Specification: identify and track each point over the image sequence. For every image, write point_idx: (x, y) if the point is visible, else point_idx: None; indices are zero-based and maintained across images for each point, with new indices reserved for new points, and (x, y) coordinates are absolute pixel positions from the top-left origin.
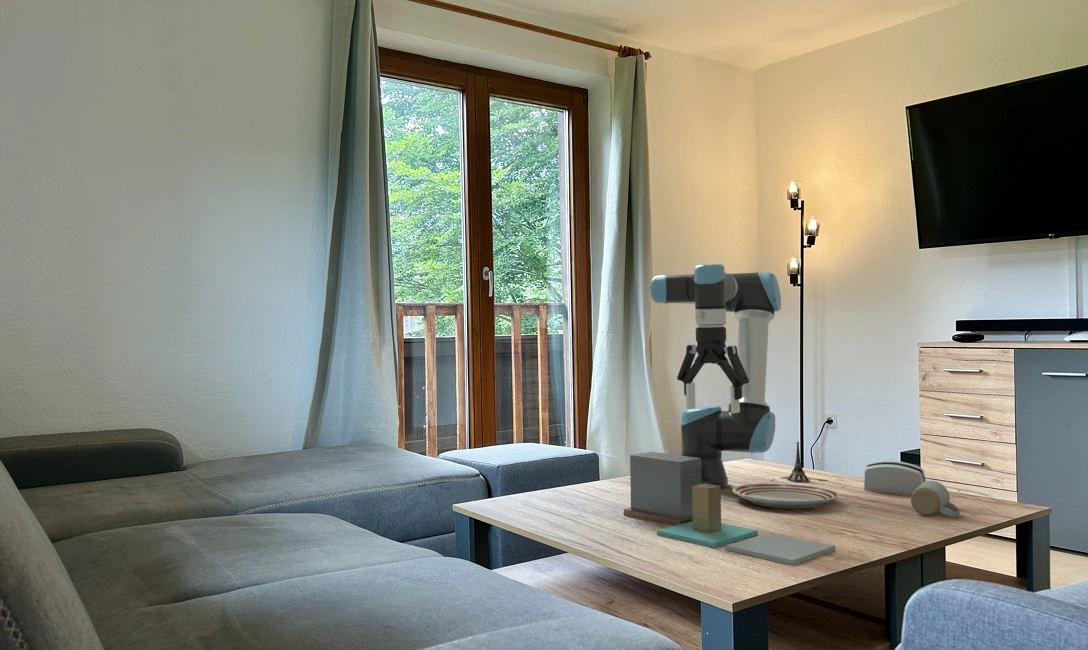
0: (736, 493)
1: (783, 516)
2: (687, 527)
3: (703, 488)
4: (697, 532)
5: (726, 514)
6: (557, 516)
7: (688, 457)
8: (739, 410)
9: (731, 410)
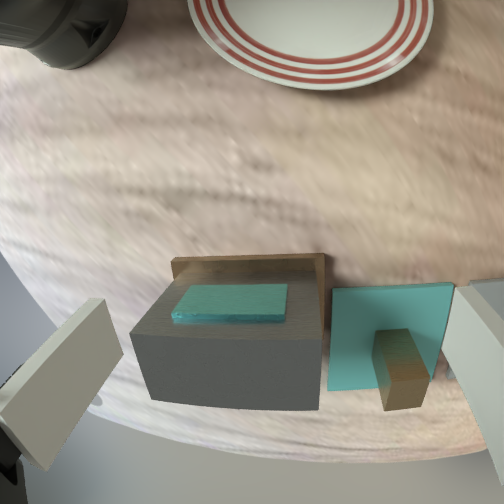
0: (253, 75)
1: (410, 114)
2: (353, 351)
3: (410, 407)
4: None
5: (316, 185)
6: (143, 389)
7: (283, 351)
8: (476, 294)
9: (451, 359)
